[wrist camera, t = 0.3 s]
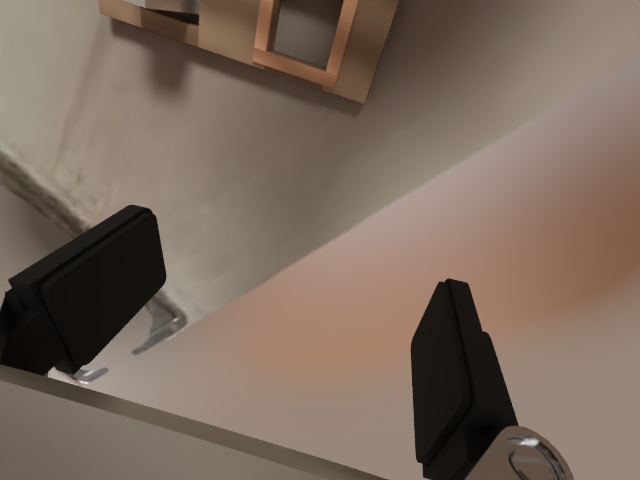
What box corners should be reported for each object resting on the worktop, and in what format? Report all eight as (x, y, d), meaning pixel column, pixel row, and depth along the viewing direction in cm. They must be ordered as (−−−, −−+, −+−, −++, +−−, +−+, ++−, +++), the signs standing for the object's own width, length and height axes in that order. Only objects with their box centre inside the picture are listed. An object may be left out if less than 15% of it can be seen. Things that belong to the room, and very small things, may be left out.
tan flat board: (102, -111, 30) (81, -122, 28) (403, -10, 29) (403, -14, 27) (113, 14, 36) (96, 13, 34) (365, 100, 35) (363, 104, 33)
